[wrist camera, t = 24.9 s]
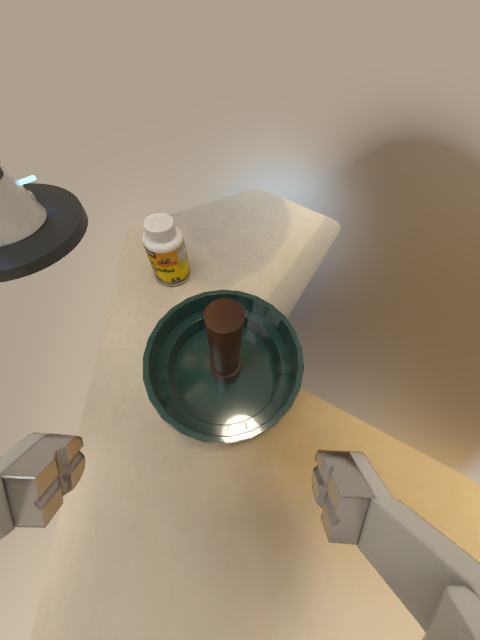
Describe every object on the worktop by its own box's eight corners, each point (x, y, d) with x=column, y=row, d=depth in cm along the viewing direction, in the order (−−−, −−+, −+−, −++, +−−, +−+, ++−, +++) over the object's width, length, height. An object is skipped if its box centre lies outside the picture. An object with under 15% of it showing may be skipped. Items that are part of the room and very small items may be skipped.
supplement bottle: (150, 281, 37) (126, 228, 28) (167, 258, 40) (150, 204, 31) (181, 292, 36) (166, 241, 27) (196, 268, 39) (187, 214, 30)
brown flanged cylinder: (209, 383, 29) (196, 334, 17) (212, 355, 31) (203, 293, 18) (239, 385, 29) (248, 338, 17) (240, 357, 31) (249, 296, 19)
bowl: (143, 439, 26) (120, 437, 20) (173, 312, 34) (163, 285, 29) (293, 448, 26) (311, 448, 20) (285, 320, 35) (297, 295, 29)
